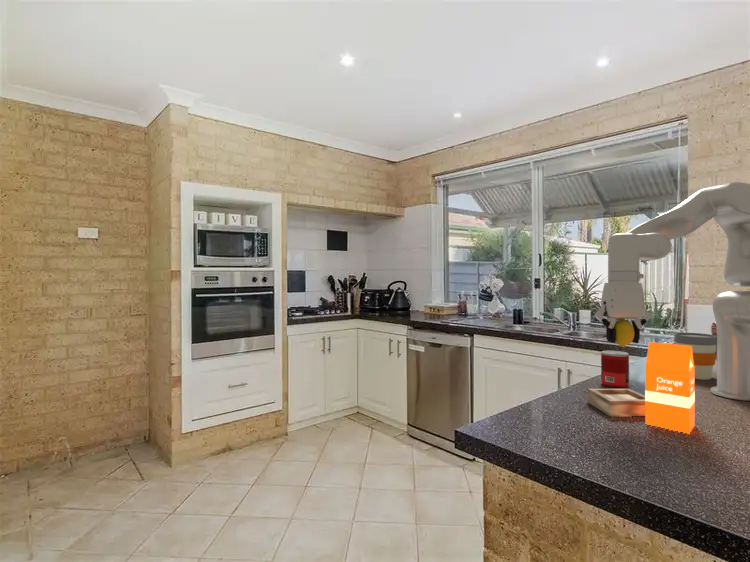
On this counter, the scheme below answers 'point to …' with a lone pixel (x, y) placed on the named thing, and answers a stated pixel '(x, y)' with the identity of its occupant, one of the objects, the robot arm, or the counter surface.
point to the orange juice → (670, 387)
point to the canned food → (615, 368)
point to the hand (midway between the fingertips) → (622, 341)
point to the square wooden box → (617, 401)
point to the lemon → (624, 332)
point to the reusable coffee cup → (700, 351)
